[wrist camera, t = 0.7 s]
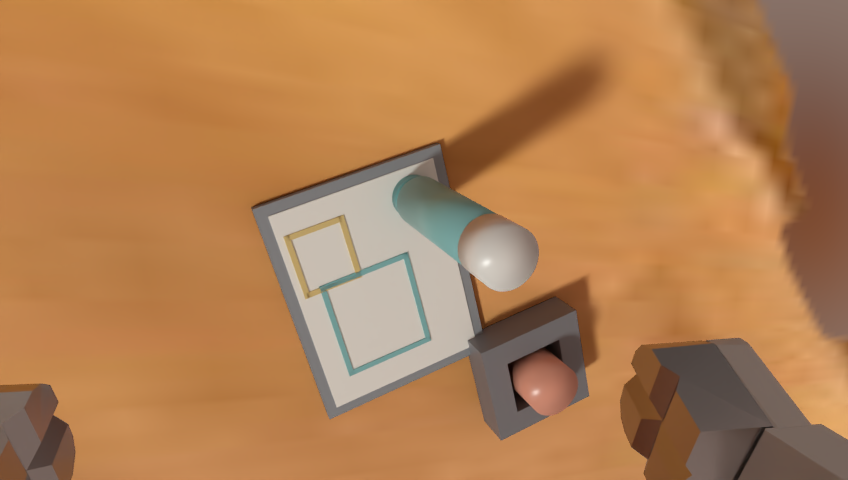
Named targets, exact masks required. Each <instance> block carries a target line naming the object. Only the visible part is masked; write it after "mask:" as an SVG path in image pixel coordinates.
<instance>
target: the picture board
mask: <svg viewBox="0 0 848 480" xmlns="http://www.w3.org/2000/svg"><path fill="white" fill-rule="evenodd" d="M408 175H420V176H426V177H430V178H432V179H434V180H436V181H438V182H440V183H441V184H443V185H445V186H447V187H449V188H450V186H449V181H448V177H447V173H446V168H445V164H444V159H443V155H442V151H441V146H440V144H439V143H435V144H433V145H430V146H427V147H424V148H421V149H418V150H415V151H412V152H410V153H407V154H404V155H401V156H398V157H395V158H392V159H390V160H387V161H384V162H381V163H378V164H375V165H372V166H369V167H367V168H364V169H361V170H358V171H355V172H352V173H349V174H346V175H344V176H341V177H338V178H335V179H332V180H329V181H326V182H324V183H321V184H318V185H315V186H312V187H309V188H306V189H303V190H301V191H298V192H295V193H292V194H289V195H286V196H283V197H281V198H278V199H275V200H272V201H269V202H266V203H263V204H260V205H258V206H255V207H252V208H251V209H252V211H253V214H254V217H255V219H256V222H257V225H258V228H259V230H260V233H261V236H262V238H263V241H264V244H265V246H266V249H267V252H268V255H269V257H270V260H271V263H272V265H273V268H274V271H275V273H276V276H277V279H278V282H279V284H280V287H281V290H282V292H283V295H284V298H285V300H286V303H287V306H288V309H289V311H290V314H291V317H292V319H293V322H294V325H295V327H296V330H297V333H298V336H299V338H300V341H301V344H302V346H303V349H304V352H305V354H306V357H307V360H308V363H309V365H310V368H311V371H312V373H313V376H314V379H315V381H316V384H317V387H318V390H319V392H320V395H321V398H322V400H323V403H324V406H325V408H326V411H327V414H328V416H329V419H331V418H334V417H336V416H338V415H340V414H342V413H345V412H347V411H349V410H351V409H353V408H355V407H358V406H360V405H362V404H364V403H366V402H369V401H371V400H373V399H375V398H377V397H380V396H382V395H384V394H386V393H388V392H390V391H393V390H395V389H397V388H399V387H401V386H404V385H406V384H408V383H410V382H412V381H414V380H417V379H419V378H421V377H423V376H425V375H428V374H430V373H432V372H434V371H436V370H438V369H441V368H443V367H445V366H447V365H449V364H452V363H454V362H456V361H458V360H460V359H462V358H465V357H467V356H469V355H471V354H470V350H469V344H468V340H470V339H472V338H474V337H475V336H477V335H479V334H481V333H483V331H482V327H481V322H480V318H479V313H478V309H477V305H476V300H475V296H474V291H473V287H472V283H471V278H470V274H469V272H468V271H467V270H466V269H465V268H464V267H463V266H462V265H461V264H460V263H458V262H457V261H456V260H454V259H453V258H452V257H450V256H449V255H448V254H447V253H445V252H444V251H443V250H441V249H440V248H439V247H438V246H436V245H435V244H434V243H432V242H431V241H430V240H429V239H427V238H426V237H425V236H423V235H422V234H421V233H419V232H418V231H417V230H416V229H414V228H413V227H412V226H410V225H409V224H408V223H407V222H405V221H404V220H403V219H402V218H401V216H400V215H399V213H398V212H397V211H396V209H395V208H394V206H393V202H392V194H393V190H394V188H395V186H396V184H397V183H398V182H399V181H400V180H401V179H402V178H404V177H406V176H408Z"/></svg>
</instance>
